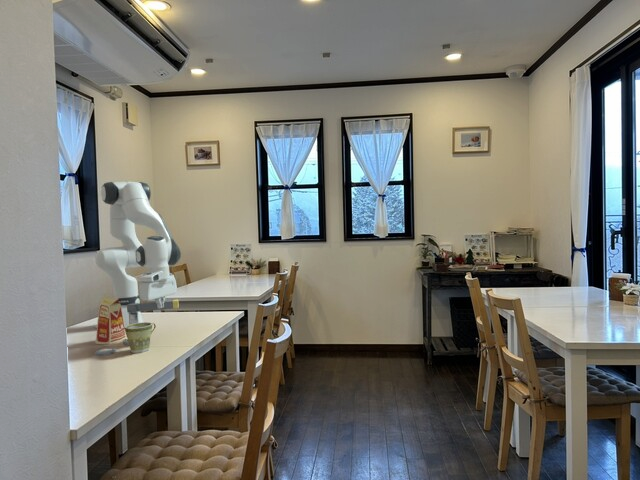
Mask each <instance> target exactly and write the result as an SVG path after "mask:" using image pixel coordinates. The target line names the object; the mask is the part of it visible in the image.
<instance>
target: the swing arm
mask: <svg viewBox="0 0 640 480" xmlns="http://www.w3.org/2000/svg"><path fill="white" fill-rule="evenodd" d="M179 305H180V303H179V299H173V300H165V301H164V307H163V308H157V303H156V302H155V301H147V302H140V303H134V304H128V305H127V312H128V313H132V312H140V311H141V312H149V311H150V312H151V311H157V310H158V311H159V310H168V309H170V310H171V309H173V310H174V309H179V307H180V306H179Z"/></svg>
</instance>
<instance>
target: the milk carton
mask: <svg viewBox="0 0 640 480" xmlns="http://www.w3.org/2000/svg"><path fill="white" fill-rule="evenodd" d="M103 296H104V297H103V299H102V300H101V301H100V302H99V307H98V316H97V322H96V323H97V324H96V325H97V328H96V336H95V337H96V338H95V344H98V345H112V344H115V343H119V342H123V340H125V339H127V335H126V332H125V325H124V319H123V313H122V309H121V304H120V302H119V301H118V299H119V298H114V297H113V296H110V295H106V294H104V295H103Z"/></svg>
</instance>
